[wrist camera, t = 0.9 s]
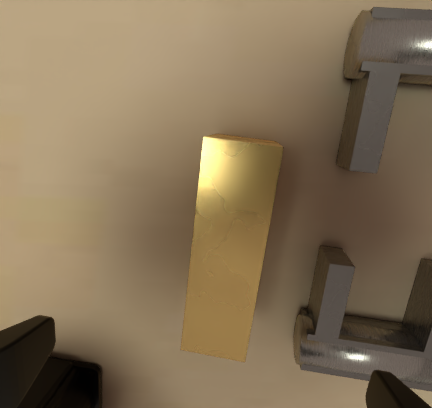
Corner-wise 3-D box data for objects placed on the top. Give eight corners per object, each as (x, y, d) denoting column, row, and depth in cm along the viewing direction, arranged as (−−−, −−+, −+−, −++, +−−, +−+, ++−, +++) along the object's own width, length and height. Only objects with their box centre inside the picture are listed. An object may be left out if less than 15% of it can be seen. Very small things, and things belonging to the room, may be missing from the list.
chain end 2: (422, 362, 19) (449, 400, 17) (291, 341, 20) (297, 374, 18) (455, 262, 18) (491, 287, 15) (309, 244, 18) (319, 264, 16)
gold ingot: (247, 305, 20) (244, 362, 15) (197, 296, 20) (180, 349, 16) (275, 141, 17) (283, 147, 12) (217, 133, 18) (203, 136, 13)
